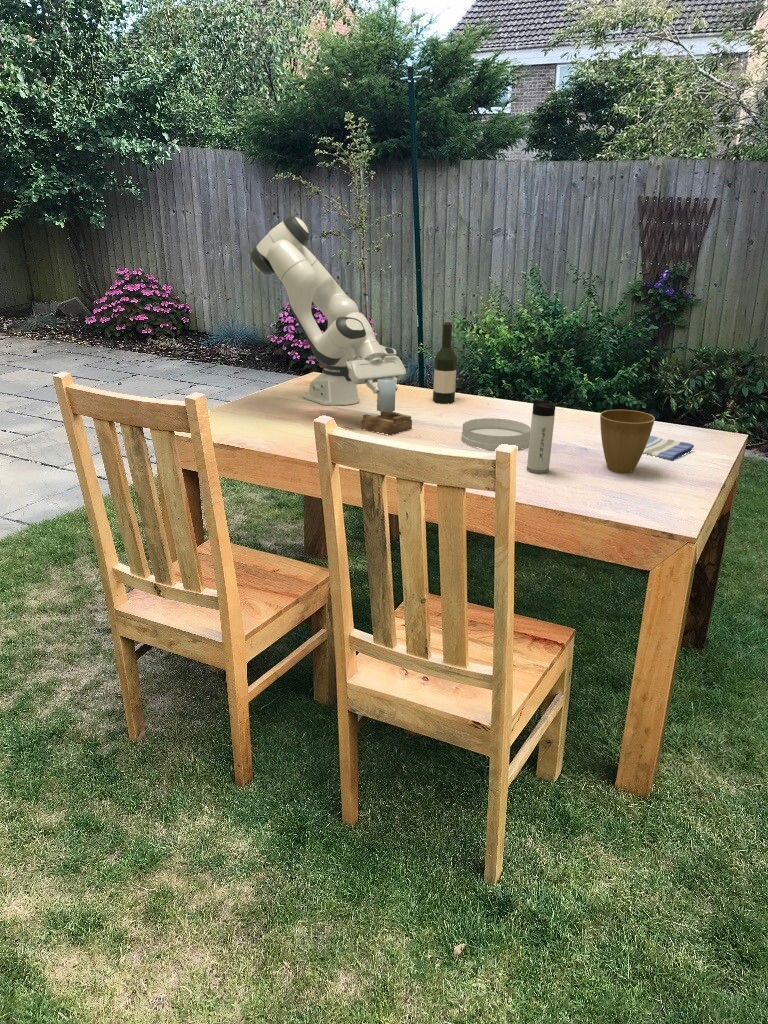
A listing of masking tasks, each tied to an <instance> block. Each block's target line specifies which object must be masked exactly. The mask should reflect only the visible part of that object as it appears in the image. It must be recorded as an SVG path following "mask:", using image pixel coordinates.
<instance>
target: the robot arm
mask: <svg viewBox="0 0 768 1024" xmlns="http://www.w3.org/2000/svg"><path fill="white" fill-rule="evenodd" d="M309 240H310V232H309V229H308V227H307V225H306V223H305V222H304V221H303V220H302V219H301V218H299V217H297V216H295V215H288V216H287V217H285V218H284V219H282V221H280V222H279V223H278V224H276V225H275V226H274V227H272V229H270V230H269V231H268V233H267V234H266V235H265V236H264V237H263V238H262V239H260V241H259V243H258V244H257V245H255V246H254V247H253V248H252V250H251V251H250V259H251V262H252V263H253V266H254V267H255V268H256V269H257V270H258V271H259V272H261V274H264V275H273V274H276V276H277V278H278V279H279V280H280V282H281V283H282V285H283V286H284V289H285V290H286V292H287V296H288V305H289V306H288V307H289V309H290V311H291V313H292V315H293V317H294V319H295V321H296V323H297V325H298V326H299V328H300V330H301V332H302V333H303V335H304V336H305V338H306V341H307V342H308V344H309V346H310V348H311V349H310V350H311V351H312V354H313V357H314V358H315V359H316V361H317V362H318V363H320V369H322V373H320V374H319V375H317V376H316V377H315V378H314V379H312V380H311V381H310V383H309V387H308V388H309V389H308V392H306V393H304V394H302V398H303V399H305V400H309V401H312V402H314V403H317V404H321V405H323V406H330V405H331V406H332V405H333V406H336V405H337V406H343V405H344V406H345V405H347V406H348V405H353V404H357V403H359V402H360V398H359V393H358V385H366V386H367V388H369V389H370V390H371V391H372V394H374V395H375V394H376V395H377V393H378V392H379V389H378V386H377V385H375V384H374V383H378V379H380V378H392V379H395V380H396V392H397V391H398V390H399V388H398V386H397V385H398V384H397V382H398V381H401V380H403V378H405V377H406V374H407V370H406V367H405V365H404V363H403V362H402V360H401V359H400V357H399V356H397V351H396V349H395V348H392V347H389V346H388V347H387V346H383V345H382V344H380V342H379V341H378V340H377V338H376V334H375V332H374V329H373V328H372V326H371V324H370V322H369V320H368V319H367V317H366V316H365V314H363V313H362V312H360V310H359V307H358V305H357V303H356V302H355V301H354V300H353V299H351V298H350V297H349V296H348V295H347V294H346V293H345V291H344V290H343V289H342V287H340V285H339V284H338V283H337V281H336V280H335V278H333V276H332V275H331V273H329V271H328V270H327V269H326V267H324V265H323V264H322V263H321V262H320V261H319V259H318V258H317V257H316V256H315V255H314V254H313V253H312V252H311V251H310V249H308V248H307V246H308V245H309V244H308V242H309ZM312 304H314V305H315V306H316V308H318V310H319V311H320V312H321V313H322V314H323V316H325V318H326V319H327V329H326V330H325V331H324V332H322V330H321V329H320V327H319V325H318V323H317V321H316V320H315V318H314V316H313V313H312Z"/></svg>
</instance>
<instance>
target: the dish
mask: <svg viewBox="0 0 768 1024" xmlns="http://www.w3.org/2000/svg"><path fill="white" fill-rule="evenodd" d="M530 430H531V426H530V425H527V424H526V423H525V422H524V423H523V422H521V421H517V420H511V419H506V418H493V417H492V418H490V417H489V418H488V417H487V418H485V417H484V418H476V419H475V418H474V419H471V420H467V421H465V422H463V423H462V431H461V435H460V436H461V438H460V440H462V441H461V442H462V443H463V444H464V443H466V444H467V445H466V444H465V445H466V446H468V445H469V446H468V447H471V446H474V447H479V448H482V449H485V450H484V451H491V452H496V451H495V449H496V448H497V447H498V446H499V445H501V444H508V445H516V446H518V449H521V450H523V449H522V448H524V449H527V448H529V441H530ZM474 447H473V448H474ZM482 449H481V450H482Z"/></svg>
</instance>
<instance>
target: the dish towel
mask: <svg viewBox="0 0 768 1024" xmlns="http://www.w3.org/2000/svg"><path fill="white" fill-rule="evenodd" d="M694 447H695V446H694V444H692V443H691V442H686V441H680V440H674V439H671V438H669V439H667V438H665V439H664V438H660V437H658V436H655V435H654V436H653V435H650V436H649V439H648V442H647V444H646V447H645V449H644V452H643V454H642V455H644V454H647V455H646V456H648V455H650V456H649V457H653V456H655V457H654V458H657V457H659V458H658V459H661V458H663V460H666V459H667V460H666V461H674V459H675V460H677V459H679V458H681V457H680V456H682V455H684V454H685V453H688V452H690V451H691V450H692V449H694ZM690 453H691V452H690ZM688 454H689V453H688ZM684 456H685V455H684ZM678 457H679V458H678ZM682 457H683V456H682ZM676 458H677V459H676Z"/></svg>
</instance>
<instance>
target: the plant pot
mask: <svg viewBox="0 0 768 1024" xmlns="http://www.w3.org/2000/svg"><path fill="white" fill-rule="evenodd" d="M599 416H600V417H599V418H600V423H599V425H600V436H601V445H602V449H603V450H602V452H603V455H604V456H603V457H604V459H605V464H606V467H607V469H608V470H609V471H611V472H614V473H619V474H628V473H629V474H630V473H633V472H634V471H635V469H636V467H637V465H638V464H639V461H640V460H641V458H642V456H643V455H644V454H643V452H644V449H645V447H646V444H647V442H648V439H649V436H651V433H652V429H653V427H654V424H655V420H656V418H655V416H653V415H652V414H650V413H646V412H643V411H639V410H630V409H610V410H604V411H602V412H600V414H599Z"/></svg>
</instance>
